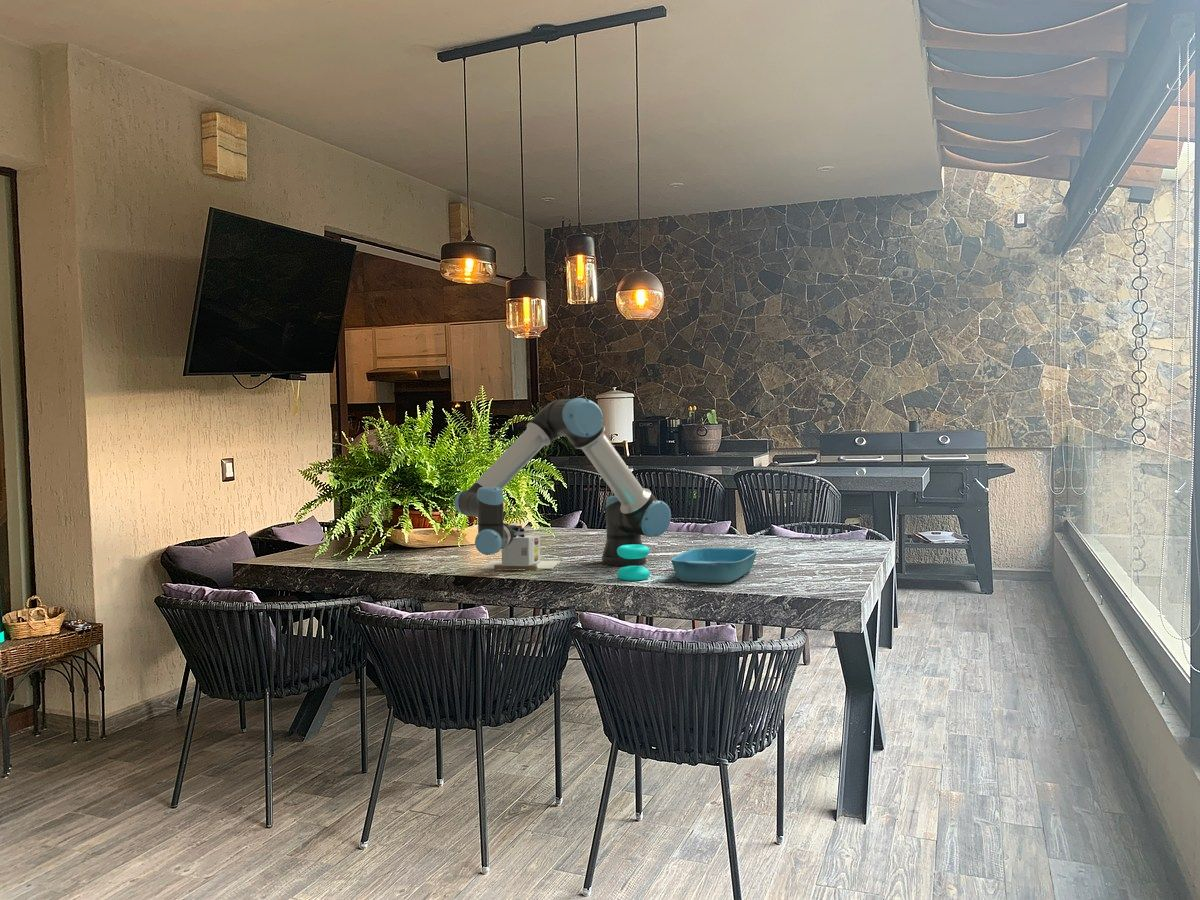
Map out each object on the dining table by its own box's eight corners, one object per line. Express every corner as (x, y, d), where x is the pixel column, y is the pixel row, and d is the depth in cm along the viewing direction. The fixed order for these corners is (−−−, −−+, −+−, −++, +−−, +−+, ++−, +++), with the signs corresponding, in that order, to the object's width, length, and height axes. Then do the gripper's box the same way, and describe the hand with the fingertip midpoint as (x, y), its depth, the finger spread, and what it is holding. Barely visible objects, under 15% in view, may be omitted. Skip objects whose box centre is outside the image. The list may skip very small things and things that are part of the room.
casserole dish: (696, 565, 311) (696, 544, 311) (763, 568, 303) (763, 546, 303) (662, 584, 277) (661, 560, 277) (736, 588, 269) (736, 563, 269)
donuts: (644, 548, 281) (612, 547, 284) (645, 582, 281) (613, 580, 284) (653, 544, 290) (622, 543, 293) (653, 576, 291) (622, 575, 294)
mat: (560, 562, 322) (560, 557, 322) (551, 570, 305) (551, 565, 305) (491, 562, 325) (491, 557, 325) (479, 570, 308) (479, 565, 308)
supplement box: (529, 537, 303) (540, 534, 320) (501, 536, 305) (514, 534, 321) (529, 567, 303) (540, 562, 319) (501, 566, 304) (514, 562, 321)
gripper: (478, 548, 286) (496, 538, 309) (520, 548, 284) (535, 538, 307) (477, 524, 285) (496, 515, 309) (519, 523, 284) (535, 515, 307)
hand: (515, 526), depth 308 cm, fingers closed
